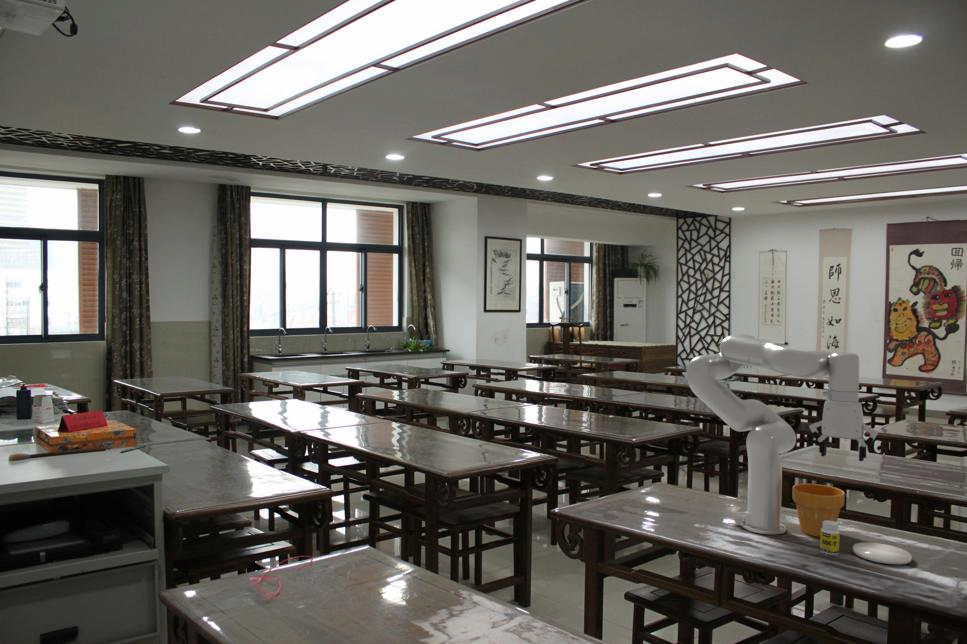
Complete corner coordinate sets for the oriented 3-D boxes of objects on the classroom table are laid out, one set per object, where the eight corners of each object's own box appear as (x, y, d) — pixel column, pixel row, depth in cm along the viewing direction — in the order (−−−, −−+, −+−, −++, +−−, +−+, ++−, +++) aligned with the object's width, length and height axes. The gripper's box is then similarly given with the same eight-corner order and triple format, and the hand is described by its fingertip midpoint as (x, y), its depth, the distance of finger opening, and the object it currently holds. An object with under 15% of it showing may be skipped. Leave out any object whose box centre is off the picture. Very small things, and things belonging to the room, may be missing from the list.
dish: (855, 561, 192) (856, 555, 192) (849, 545, 205) (850, 539, 205) (916, 569, 187) (916, 563, 186) (906, 552, 200) (906, 546, 200)
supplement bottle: (819, 553, 197) (820, 523, 197) (820, 548, 202) (821, 518, 201) (838, 556, 195) (839, 526, 195) (839, 551, 199) (840, 521, 199)
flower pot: (837, 543, 206) (839, 498, 206) (785, 533, 215) (787, 489, 214) (847, 531, 217) (849, 489, 217) (797, 522, 226) (799, 481, 225)
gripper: (806, 395, 203) (805, 456, 203) (875, 400, 192) (874, 464, 193) (813, 393, 209) (812, 452, 209) (880, 398, 198) (879, 460, 199)
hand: (842, 458), depth 201 cm, fingers open, 9 cm apart
